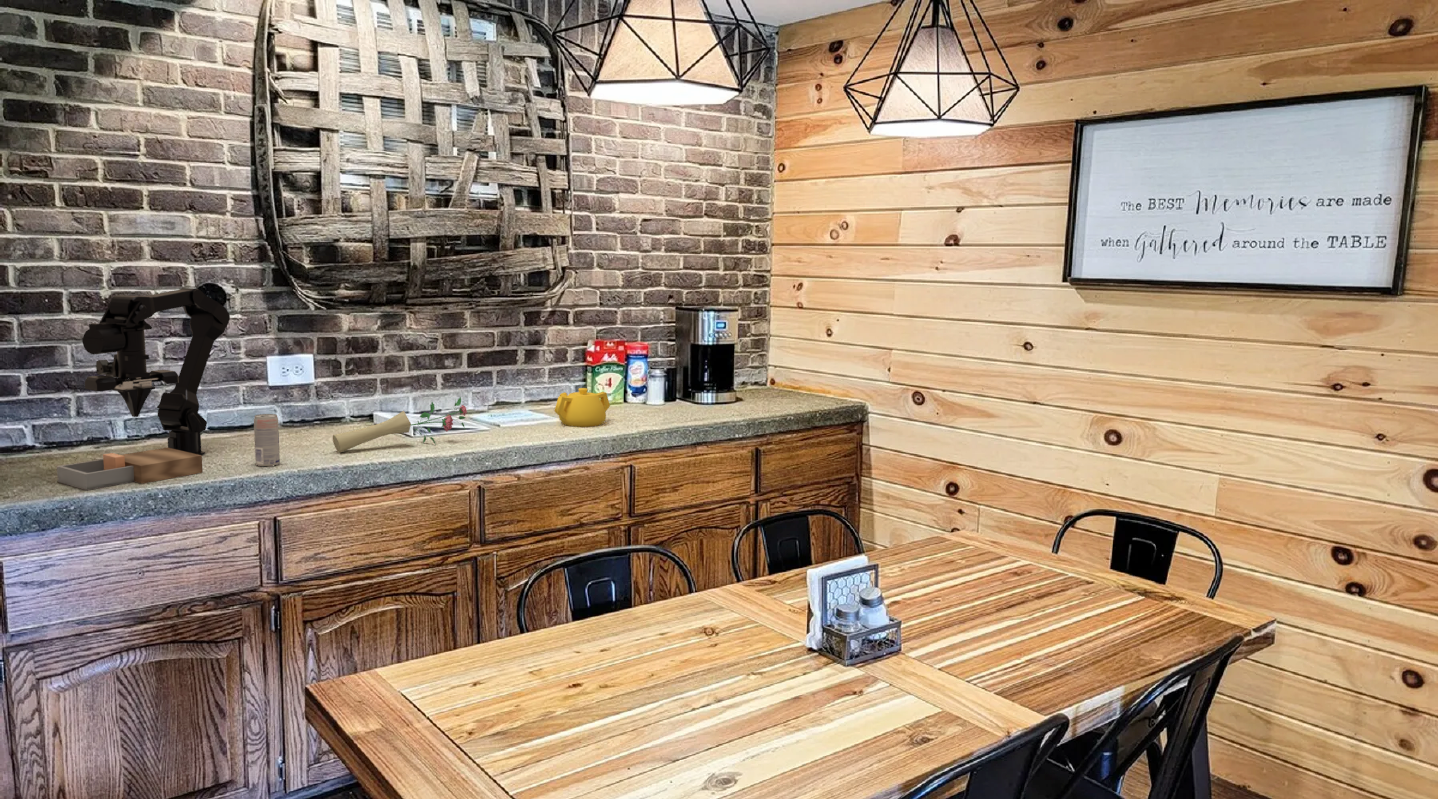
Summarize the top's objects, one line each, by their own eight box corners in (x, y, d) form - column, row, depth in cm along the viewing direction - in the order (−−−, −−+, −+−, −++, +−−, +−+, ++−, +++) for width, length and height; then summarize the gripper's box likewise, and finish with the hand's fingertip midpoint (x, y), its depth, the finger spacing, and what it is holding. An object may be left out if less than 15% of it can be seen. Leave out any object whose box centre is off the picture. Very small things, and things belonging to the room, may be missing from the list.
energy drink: (276, 461, 246) (274, 413, 245) (282, 465, 242) (280, 416, 241) (253, 463, 243) (251, 414, 241) (258, 467, 239) (257, 418, 237)
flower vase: (342, 477, 263) (463, 436, 283) (354, 473, 253) (479, 430, 273) (326, 435, 262) (449, 396, 283) (338, 429, 252) (464, 389, 273)
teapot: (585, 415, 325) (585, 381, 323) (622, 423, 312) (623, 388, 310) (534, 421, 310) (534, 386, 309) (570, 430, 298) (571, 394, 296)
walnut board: (168, 463, 240) (167, 447, 240) (202, 472, 233) (201, 455, 232) (107, 474, 228) (106, 457, 228) (141, 483, 221) (140, 465, 221)
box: (105, 473, 229) (104, 458, 228) (134, 481, 223) (133, 466, 222) (57, 481, 220) (56, 466, 220) (86, 490, 214) (85, 474, 214)
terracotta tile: (112, 453, 225) (103, 454, 223) (124, 456, 222) (115, 457, 221) (113, 474, 226) (104, 476, 224) (125, 478, 223) (116, 479, 221)
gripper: (151, 344, 244) (155, 407, 246) (69, 350, 228) (74, 418, 230) (178, 348, 238) (181, 413, 241) (96, 354, 222) (100, 423, 225)
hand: (135, 416), depth 234 cm, fingers closed
